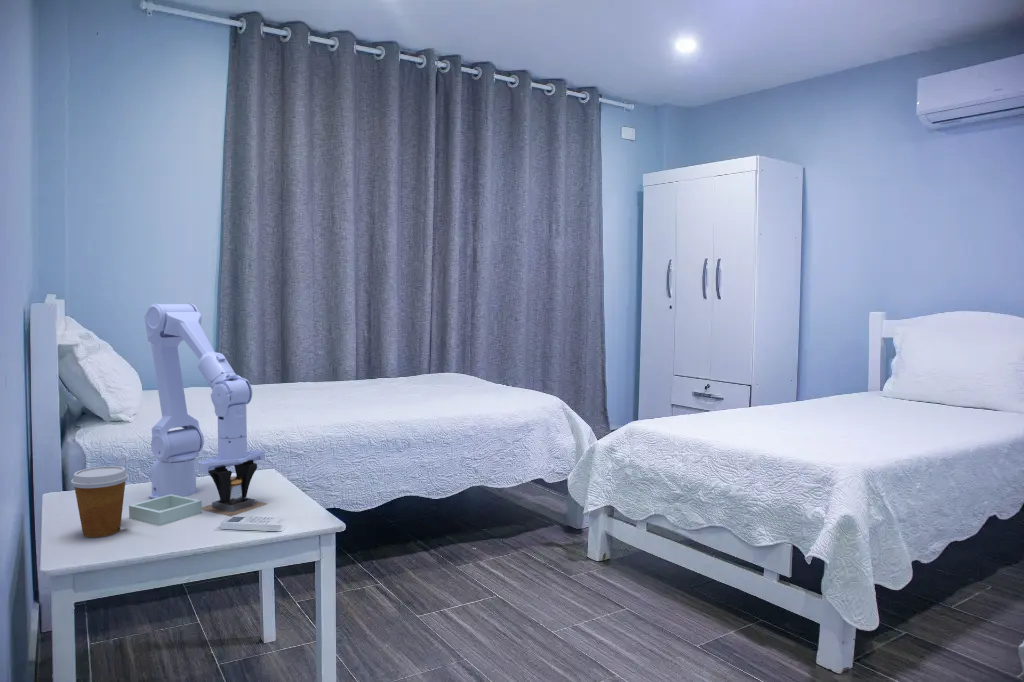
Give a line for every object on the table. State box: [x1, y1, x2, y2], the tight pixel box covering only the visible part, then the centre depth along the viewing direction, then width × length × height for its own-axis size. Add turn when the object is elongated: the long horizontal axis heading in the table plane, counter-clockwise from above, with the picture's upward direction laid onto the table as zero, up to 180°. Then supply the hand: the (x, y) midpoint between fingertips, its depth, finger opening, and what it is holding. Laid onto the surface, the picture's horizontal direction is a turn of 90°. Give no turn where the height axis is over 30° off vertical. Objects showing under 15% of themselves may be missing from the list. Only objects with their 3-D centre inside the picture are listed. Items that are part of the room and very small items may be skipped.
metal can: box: [224, 476, 243, 505], centre depth 152 cm, size 4×4×6 cm
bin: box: [128, 494, 203, 527], centre depth 146 cm, size 10×10×4 cm
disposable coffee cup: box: [70, 465, 129, 538], centre depth 137 cm, size 10×10×12 cm
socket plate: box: [202, 496, 268, 517], centre depth 152 cm, size 10×10×2 cm
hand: (233, 498), depth 152 cm, fingers closed on metal can, 4 cm apart
